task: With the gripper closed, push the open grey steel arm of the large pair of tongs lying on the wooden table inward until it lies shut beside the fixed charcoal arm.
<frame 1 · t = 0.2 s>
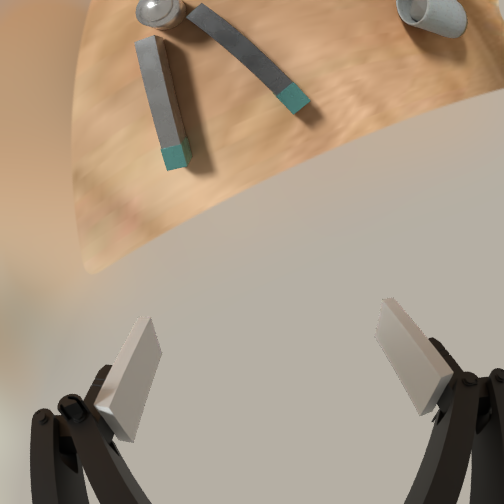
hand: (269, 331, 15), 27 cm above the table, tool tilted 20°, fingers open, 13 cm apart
tong swing arm: (168, 78, 26), point 3 cm above the table, hinge at 35.0°
ceramic mug: (415, 3, 20), on the table
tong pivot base: (166, 13, 22), on the table
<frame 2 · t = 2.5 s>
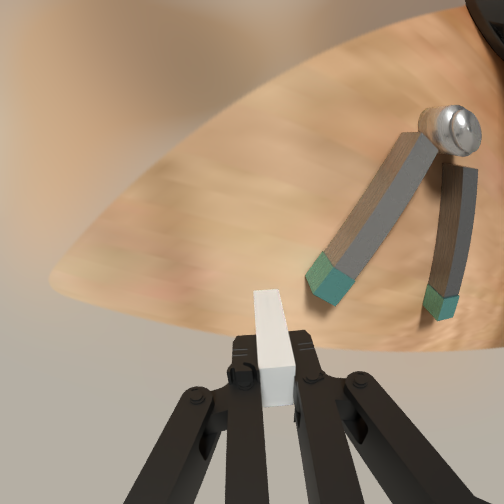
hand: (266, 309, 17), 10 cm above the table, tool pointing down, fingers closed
tong swing arm: (403, 201, 22), point 3 cm above the table, hinge at 35.0°
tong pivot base: (435, 130, 22), on the table
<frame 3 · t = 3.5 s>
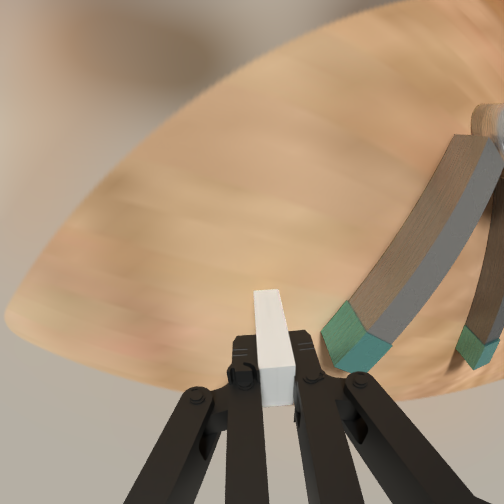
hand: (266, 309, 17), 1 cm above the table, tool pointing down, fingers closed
tong swing arm: (461, 233, 14), point 3 cm above the table, hinge at 35.0°
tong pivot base: (488, 133, 14), on the table
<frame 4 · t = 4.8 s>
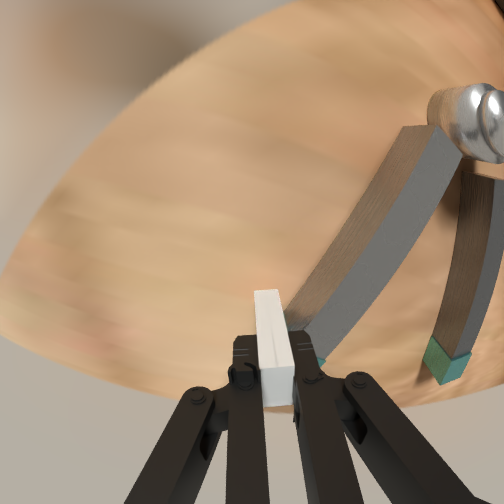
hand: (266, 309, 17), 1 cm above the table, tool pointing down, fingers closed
tong swing arm: (407, 238, 14), point 3 cm above the table, hinge at 34.0°, touching gripper
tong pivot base: (452, 122, 14), on the table
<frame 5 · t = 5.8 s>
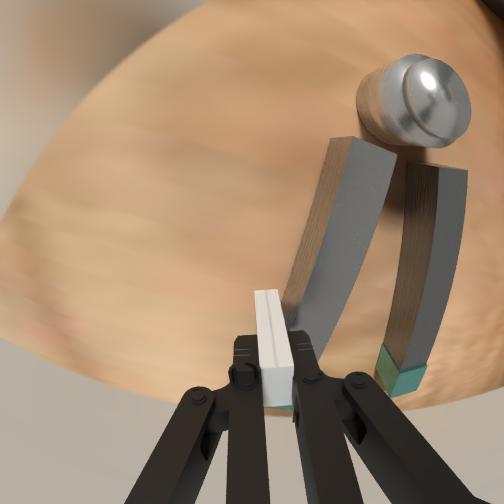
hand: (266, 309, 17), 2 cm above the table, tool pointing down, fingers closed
tong swing arm: (357, 260, 14), point 3 cm above the table, hinge at 17.6°, touching gripper
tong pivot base: (391, 107, 14), on the table
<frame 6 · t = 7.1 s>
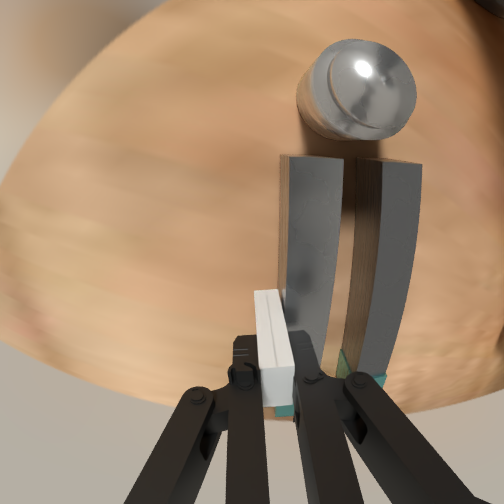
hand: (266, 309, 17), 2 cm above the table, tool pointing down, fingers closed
tong swing arm: (332, 271, 15), point 3 cm above the table, hinge at 3.0°, touching gripper
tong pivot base: (337, 100, 14), on the table
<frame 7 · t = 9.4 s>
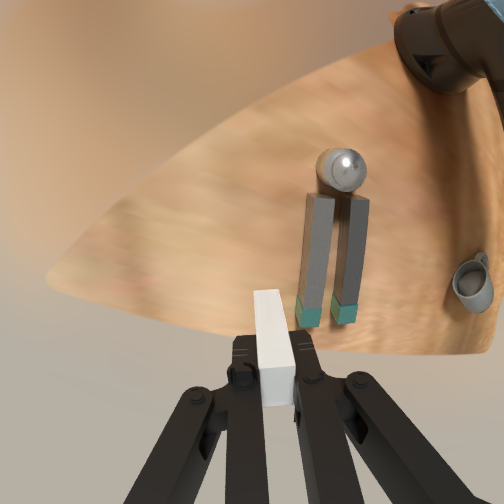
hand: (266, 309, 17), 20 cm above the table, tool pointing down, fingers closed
tong swing arm: (328, 245, 34), point 3 cm above the table, hinge at 2.9°
ceramic mug: (466, 273, 40), on the table
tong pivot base: (334, 167, 33), on the table
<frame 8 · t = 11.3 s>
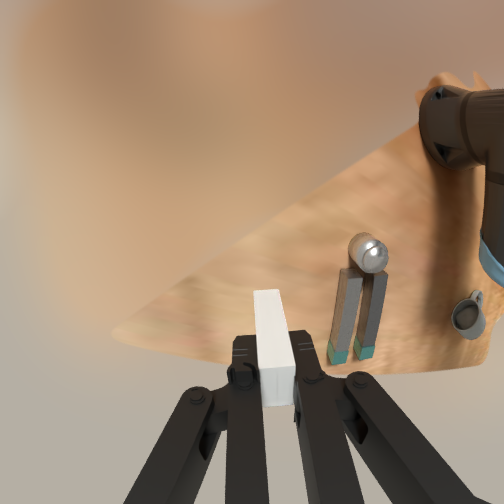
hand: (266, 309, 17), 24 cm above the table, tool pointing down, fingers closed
tong swing arm: (355, 307, 42), point 3 cm above the table, hinge at 2.9°
ceramic mug: (464, 307, 48), on the table
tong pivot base: (362, 247, 42), on the table
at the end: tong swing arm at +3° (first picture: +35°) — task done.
